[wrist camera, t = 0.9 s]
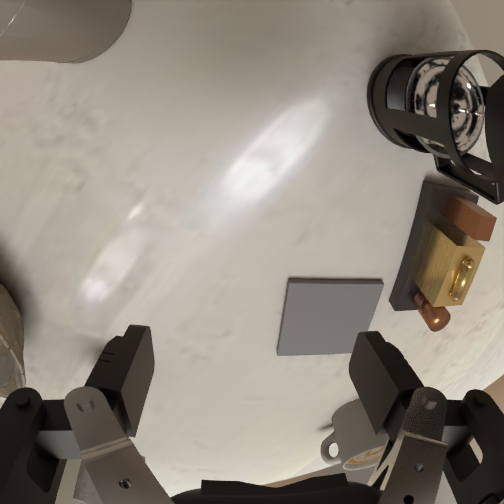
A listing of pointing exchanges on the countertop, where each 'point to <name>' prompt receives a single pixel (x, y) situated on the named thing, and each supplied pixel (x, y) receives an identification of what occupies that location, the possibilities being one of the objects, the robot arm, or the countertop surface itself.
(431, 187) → the hand plane
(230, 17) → the countertop surface
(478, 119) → the french press
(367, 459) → the coffee mug
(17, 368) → the ceramic bowl
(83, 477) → the notched spreader
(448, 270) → the lever cap
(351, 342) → the rubber mat
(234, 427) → the countertop surface
